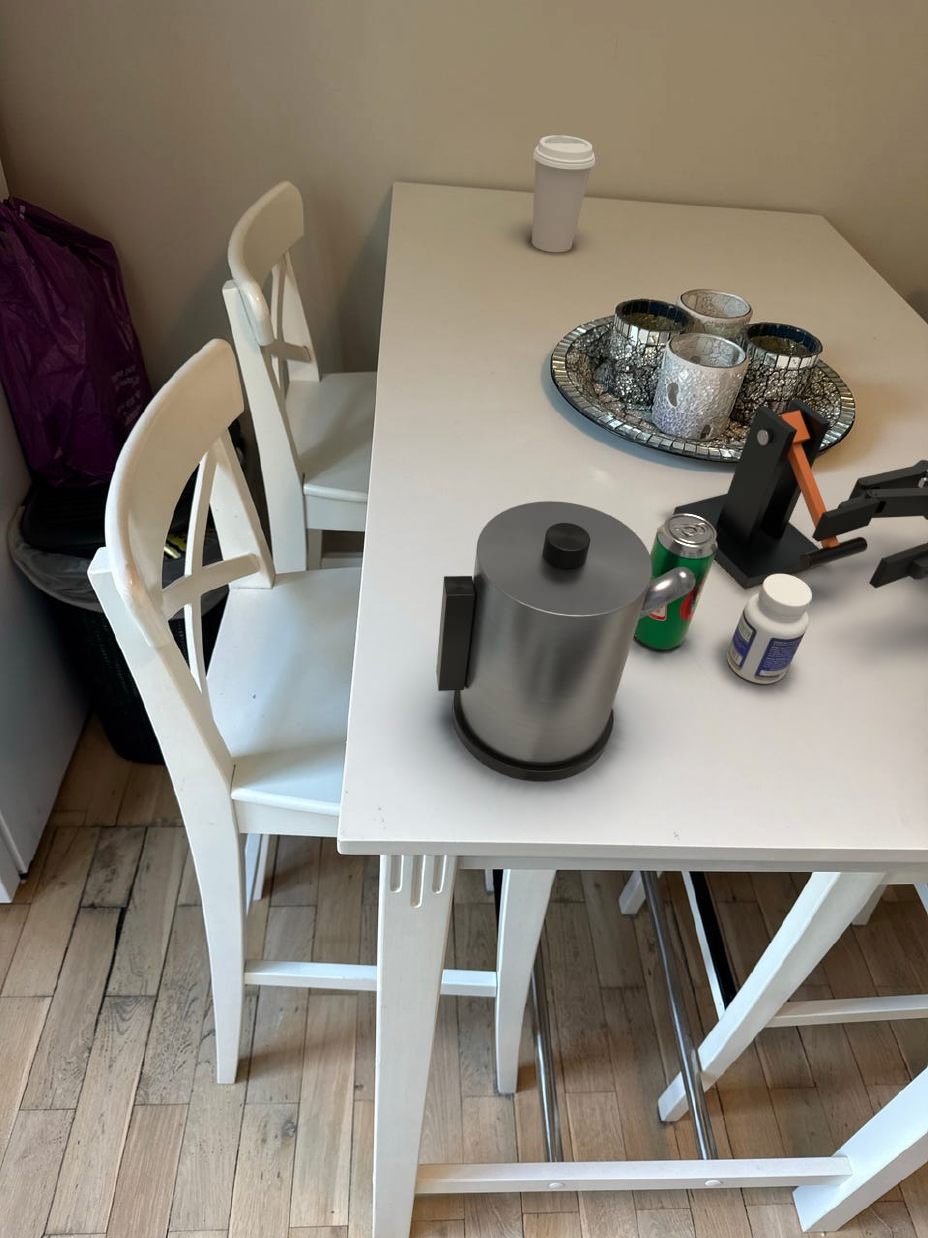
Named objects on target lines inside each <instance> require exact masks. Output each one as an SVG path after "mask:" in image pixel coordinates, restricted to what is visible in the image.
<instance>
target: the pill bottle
mask: <svg viewBox="0 0 928 1238" xmlns="http://www.w3.org/2000/svg"><path fill="white" fill-rule="evenodd" d="M761 584H762V585H761V586H760V589H759V591H758V593H755V594H754V595H752V596H750V597H749V599H748V600H747V602H746V603H745V606H744V608H743V610H742V613H741V615H740V618H739V620H738V623H737V624H736V628H735V629H734V633H733V635H732V638H731V641H730V642H729V645H728V648H727V650H726V651H727V652H726V658H727V662H728V665H729V666H730V668H731V669H732V670H733V671H734V672H735V673H736V674H737V675H738V676H740V678H743V679H745V680H747V681H750V682H752V683H756V684H762V685H765V684H766V685H767V684H773V683H776V682H778V681H780V680H781V679H783V678H784V676H785V675H786V674H787V672H788V669H789V667H790V666H791V663H792V662H793V659H794V656H795V655H796V653H797V650H798V649H799V646H800V644H801V642H802V640H803V638H804V636H805V634H806V632H807V630H808V627H809V623H810V618H809V614H808V611H807V610H808V609H809V606H810V604H811V602H812V598H813V594H812V593H813V592H812V590H811V588H810V587H809V586H808V584H807V583H806V582H804V581H803V580H802V579H800V578H798V577H797V576H794V575H792V574H789V575H787V574H773V575H770V576H769V577H767V578H766V579H765V580H764V582H763V583H761Z"/></svg>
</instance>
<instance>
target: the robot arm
mask: <svg viewBox="0 0 928 1238" xmlns="http://www.w3.org/2000/svg"><path fill="white" fill-rule="evenodd" d="M826 511H827V512H824V513H822V515H821V518H820V520H819V522H818V524H817V527H816V529H815V528H814V531H813V533H812V536H811V538H812V539H813V540H815V541H816V542H817V543H819V542H820V541H822V540H825V539H829V538H832V537H835V536H836V537H837V536H841V535H844V534H847V533H850V532H853V531H856V530H858V529H863V528H866V527H868V526H869V525H870V523H871V521H872V519H886V518H887V519H889V518H911V517H913V518H914V517H923V518H924V519H925V520H926V521H928V460H927V459H920V460H919V461H917V462H916V463H915V464H914V465H911V466H908V467H902V468H898V469H894V470H888V471H885V472H884V471H883V472H881V473H875V474H872V475H866V476H862V477H858V478H857V479H856V482H855V484H854V486H853V488H852V490H851V493H850V495H849V497H848V499H847V500H843V501H841V502H840V503H839V504H838V506H837V507H836V508H834V509H831V510H826ZM908 577H911V578H912V579H913V580H914V581H917V580H918V581H919V580H923V579H927V578H928V542H925V543H922V544H919V545H916V546H913V547H911V548H908V549H905V550H902V551H899V552H896V553H893V554H890V555H887V556H884V557H882V558H881V559H880V561H879V563H878V564H877V566H876V569H875V570H874V573H873V574H872V576H871V578H870V580H869V582H868V584H869V585H870V586H872V587H873V588H874V589H878V588H880V587H883V586H886V585H889V584H892V583H894V582H897V581H900V580H903V579H906V578H908Z"/></svg>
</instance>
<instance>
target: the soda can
mask: <svg viewBox="0 0 928 1238" xmlns="http://www.w3.org/2000/svg"><path fill="white" fill-rule="evenodd" d="M716 537H717V533H716V530H715V528H714V527H713V525H712V524H711V523H709V522H708V521H707V520H705V519H703V518H701V517H699V516H696V515H692V514H675V515H673V514H672V515H669V516H668V517H667V518H666V519H665V520H664V522H663V524H661V525H660V526H659V527H658V528H657V531H656V533H655V537H654V539H653V542H652V547H651V550H650V552H649V554H650V558H651V561H652V577H651V580H650V582H651V581H653V580H654V579H656V578H658V577H660V576H662V575H664V574H665V573H667V572H669V571H671V570H673V569H674V568H677V567H685V568H688V569H690V570H691V571H692V572H693V574H694V576H695V586H694V588H693V589H692V590H691V591H690V592H689V593H687V594H685V595H684V596H682V597H680V598H678V599H676V600H674V601H672V602H671V603H669V604H667V605H665V606H663V607H661V608H659V609H658V610H656V611H654V612H652V613H650V614H648V615H646V616H645V617H643V618H641V619H639V620H638V623H637V627H636V630H635V633H634V637H635V638H636V639H637V640H638V641H639V642H640V643H641V644H643V645H645V646H647V647H649V648H652V649H655V650H668V649H669V650H670V649H673V648H676V647H678V646H680V645H681V644H683V643H684V641H685V640H686V637H687V634H688V631H689V629H690V626H691V623H692V621H693V618H694V616H695V612H696V610H697V607H698V604H699V601H700V598H701V595H702V593H703V590H704V587H705V585H706V582H707V579H708V576H709V573H710V571H711V567H712V566H713V565H712V564H713V562H714V560H715V559H714V557H715V554H716V551H717V548H718V544H717V540H716Z"/></svg>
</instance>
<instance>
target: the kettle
mask: <svg viewBox="0 0 928 1238" xmlns="http://www.w3.org/2000/svg"><path fill="white" fill-rule="evenodd" d="M475 549H476V550H475V557H474V558H475V559H474V566H473V567H474V568H473V576H472V575H444V576H443V584H442V597H441V606H440V607H441V609H440V621H439V635H438V645H437V658H436V671H435V672H436V673H435V675H436V682H437V683H436V684H437V691H438V692H452V691H453V699H452V721H453V726H454V728H455V731H456V733H457V736H458V737H459V739H460V741H461V742H462V743H463V745H464V746H465V748H466V749H467V750H468V751H469V752H470V753H471V755H473V757H475V758H476V759H478V760H479V762H481V763H482V764H484V765H485V766H487V767H489V768H490V769H492V770H494V771H496V772H498V773H500V774H503V775H505V776H509V777H511V778H515V779H519V780H525V781H532V782H533V781H534V782H547V781H558V780H561V779H566V778H569V777H572V776H574V775H576V774H579V773H581V772H583V771H585V770H586V769H588V768H589V767H590V766H592V765H593V764H594V763H595V762H596V761H597V760H599V758H600V757H601V755H602V754H603V753H604V752H605V751H606V748H607V746H608V744H609V741H610V738H611V735H612V733H613V728H614V721H615V719H614V709H613V706H614V702H615V699H616V696H617V692H618V689H619V686H620V684H621V679H622V677H623V674H624V673H623V672H624V671H625V667H626V664H627V663H626V662H627V661H628V660H627V659H628V656H629V653H630V649H631V646H632V643H633V640H634V637H635V635H634V633H635V630H636V627H637V623H638V620H639V619H641V618H643V617H645V616H646V615H648V614H650V613H652V612H654V611H656V610H658V609H659V608H661V607H663V606H665V605H667V604H669V603H671V602H672V601H674V600H676V599H678V598H680V597H682V596H684V595H685V594H687V593H689V592H690V591H691V590H692V589H693V588H694V586H695V576H694V574H693V572H692V571H691V570H690V569H688V568H685V567H677V568H674V569H673V570H671V571H669V572H667V573H665V574H664V575H662V576H660V577H658V578H656V579H654V580H653V581H651V582H650V580H651V577H652V561H651V558H650V552H649V550H648V548H647V546H646V545H645V543H644V541H643V540H642V539H641V538H640V536H638V535H637V533H636V532H634V530H633V529H631V528H630V527H629V526H628V525H626V523H623V522H622V521H621V520H619V519H617V518H616V517H613V516H612V515H610V514H608V513H605V512H604V511H601V510H599V509H596V508H593V507H590V506H587V505H582V504H578V503H574V502H566V501H555V500H554V501H553V500H551V501H550V500H546V501H534V502H527V503H523V504H518V505H516V506H513V507H510V508H508V509H505V510H503V511H501V512H500V513H498V514H496V515H495V516H494V517H493V518H491V519H490V520H489V521H488V522H487V523H486V525H485V526H484V527H483V528H482V530H481V531H480V533H479V535H478V539H477V543H476V548H475Z"/></svg>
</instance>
